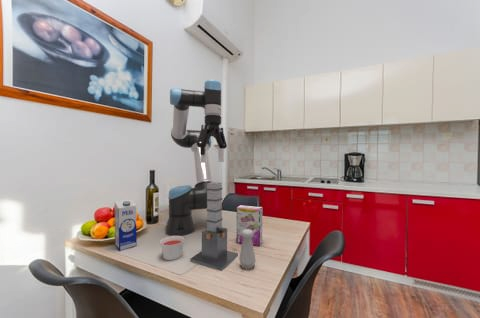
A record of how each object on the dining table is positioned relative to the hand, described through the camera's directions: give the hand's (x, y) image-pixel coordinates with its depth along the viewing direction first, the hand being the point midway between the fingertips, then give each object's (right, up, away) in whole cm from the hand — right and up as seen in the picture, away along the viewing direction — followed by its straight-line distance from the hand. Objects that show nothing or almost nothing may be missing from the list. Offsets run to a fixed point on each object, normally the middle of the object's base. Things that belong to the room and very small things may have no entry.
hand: (213, 162), depth 93 cm
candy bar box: (+17, -37, 0) cm, 40 cm away
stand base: (+2, -37, -14) cm, 40 cm away
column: (+2, -30, -14) cm, 33 cm away
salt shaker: (+15, -37, -20) cm, 45 cm away
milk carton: (-38, -37, -3) cm, 53 cm away
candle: (-15, -37, -12) cm, 42 cm away
